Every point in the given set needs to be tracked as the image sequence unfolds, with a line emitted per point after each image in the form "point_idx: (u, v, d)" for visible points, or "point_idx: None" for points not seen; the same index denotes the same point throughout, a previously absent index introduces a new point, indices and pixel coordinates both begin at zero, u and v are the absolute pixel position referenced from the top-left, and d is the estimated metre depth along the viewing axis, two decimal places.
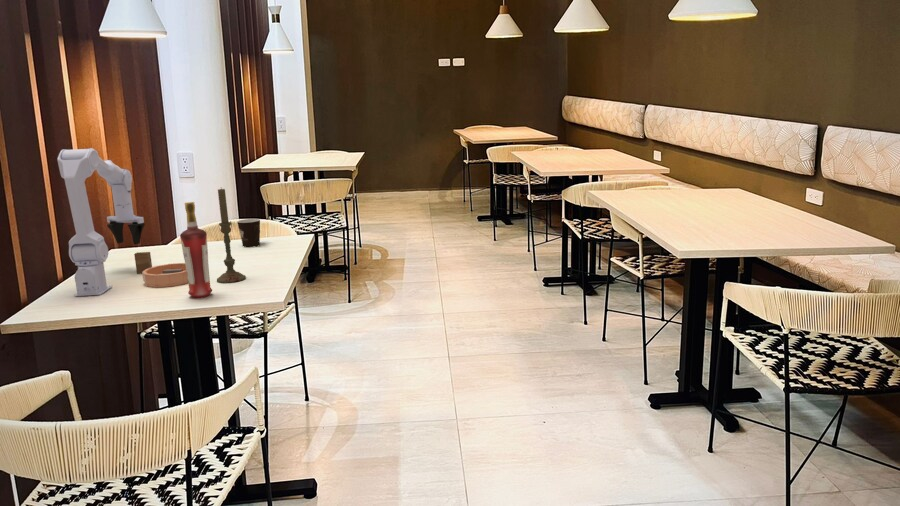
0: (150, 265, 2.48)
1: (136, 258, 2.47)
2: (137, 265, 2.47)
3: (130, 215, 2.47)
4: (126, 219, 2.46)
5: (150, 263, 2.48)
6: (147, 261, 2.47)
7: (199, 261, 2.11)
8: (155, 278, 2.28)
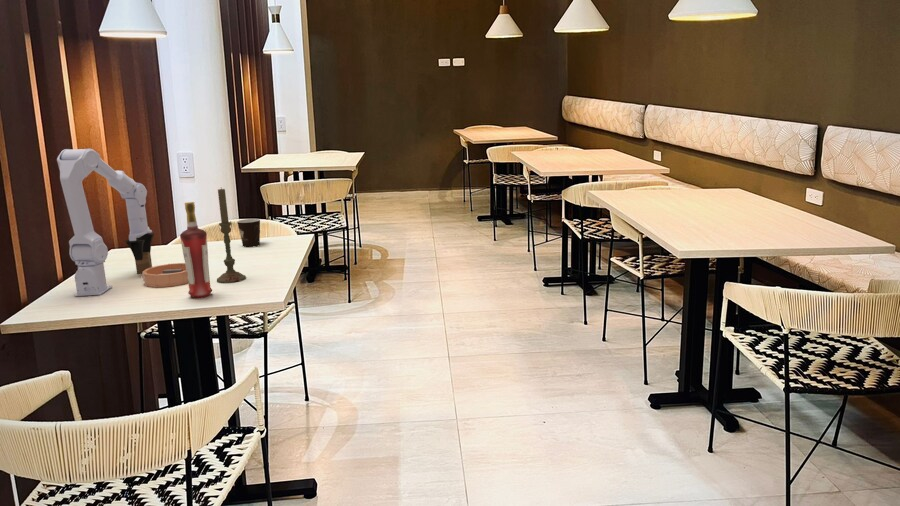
0: (150, 265, 2.48)
1: None
2: (137, 265, 2.47)
3: (135, 230, 2.43)
4: None
5: (150, 263, 2.48)
6: (147, 261, 2.47)
7: (199, 261, 2.11)
8: (155, 278, 2.28)
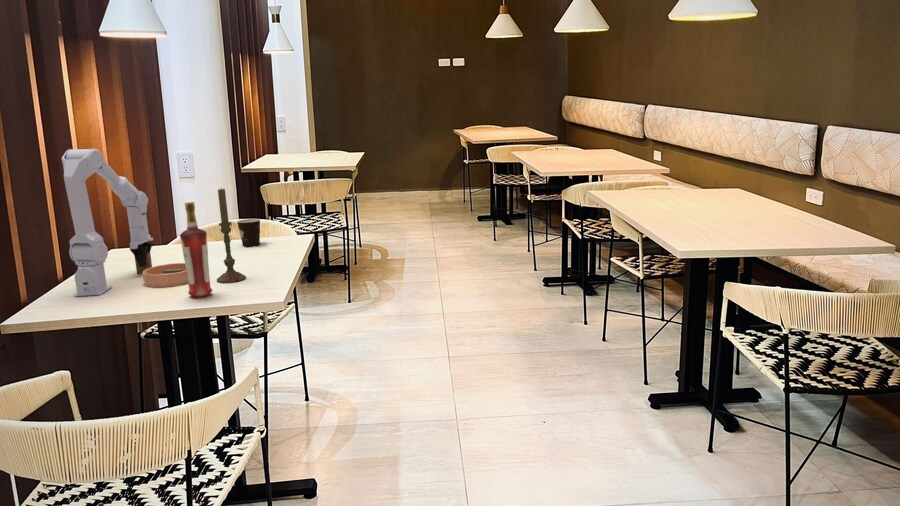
0: (150, 265, 2.48)
1: None
2: (137, 265, 2.47)
3: (136, 238, 2.44)
4: None
5: (150, 263, 2.48)
6: (147, 261, 2.47)
7: (199, 261, 2.11)
8: (155, 278, 2.28)
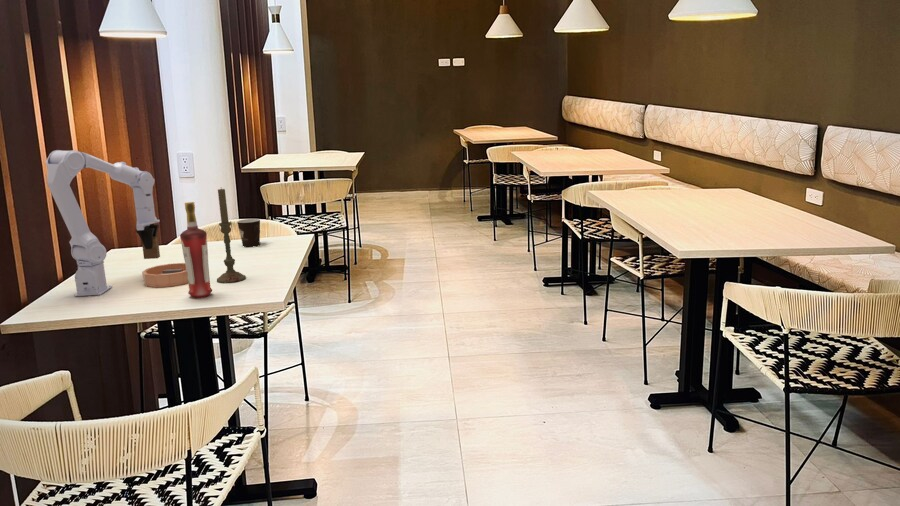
0: (157, 250, 2.42)
1: None
2: (144, 250, 2.41)
3: (142, 220, 2.37)
4: None
5: (157, 248, 2.42)
6: (154, 246, 2.41)
7: (199, 261, 2.11)
8: (155, 278, 2.28)
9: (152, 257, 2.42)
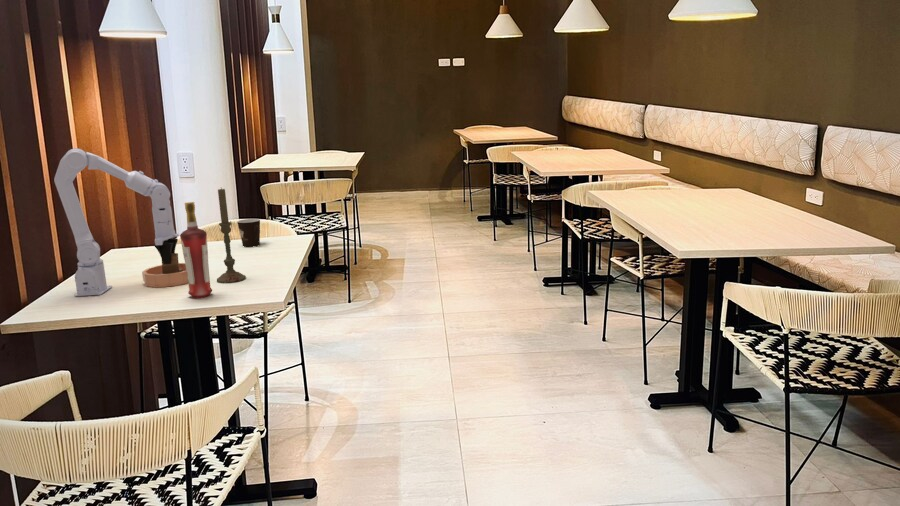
0: (177, 267, 2.35)
1: None
2: (163, 267, 2.34)
3: (161, 234, 2.30)
4: (155, 238, 2.30)
5: (177, 265, 2.35)
6: (174, 263, 2.34)
7: (199, 261, 2.11)
8: (155, 278, 2.28)
9: None
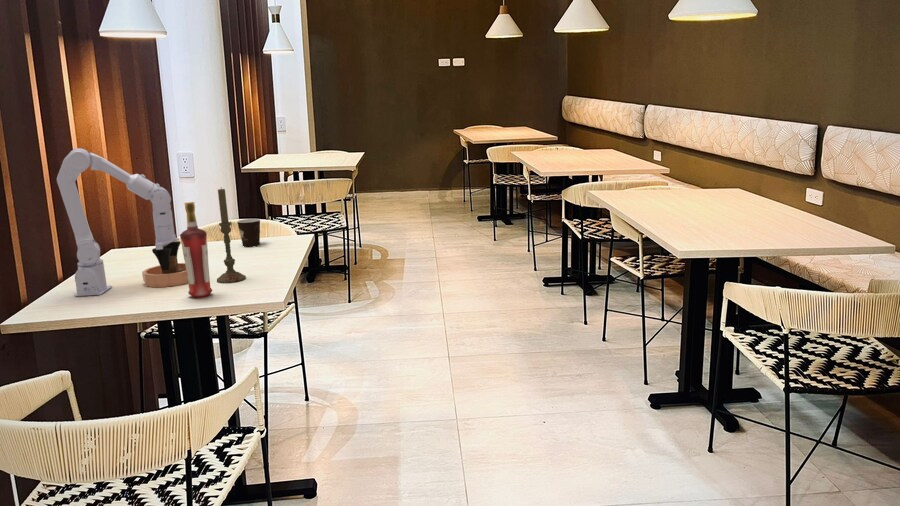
0: (177, 270, 2.35)
1: None
2: (163, 270, 2.34)
3: (162, 238, 2.30)
4: None
5: (177, 268, 2.35)
6: (174, 265, 2.34)
7: (199, 261, 2.11)
8: (155, 278, 2.28)
9: None
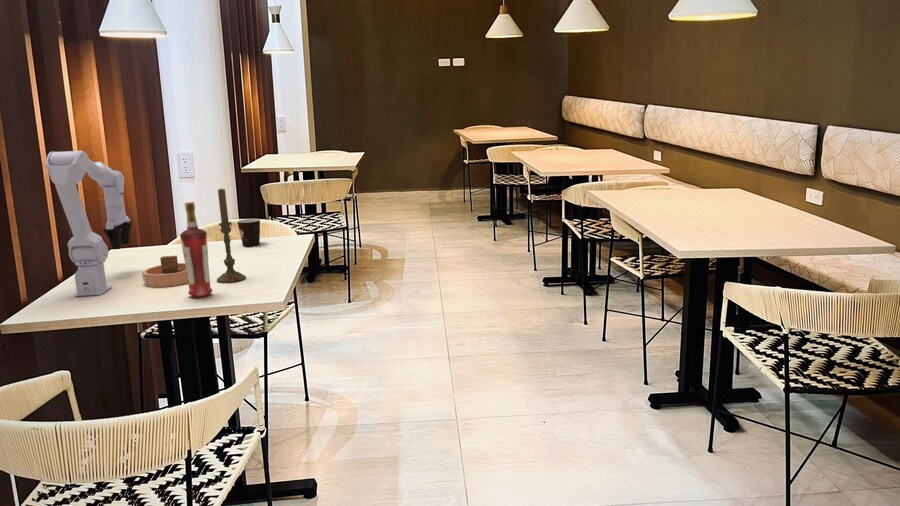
0: (177, 270, 2.35)
1: (162, 262, 2.33)
2: (163, 270, 2.34)
3: (113, 219, 2.40)
4: (107, 222, 2.40)
5: (177, 268, 2.35)
6: (174, 265, 2.34)
7: (199, 261, 2.11)
8: (155, 278, 2.28)
9: None
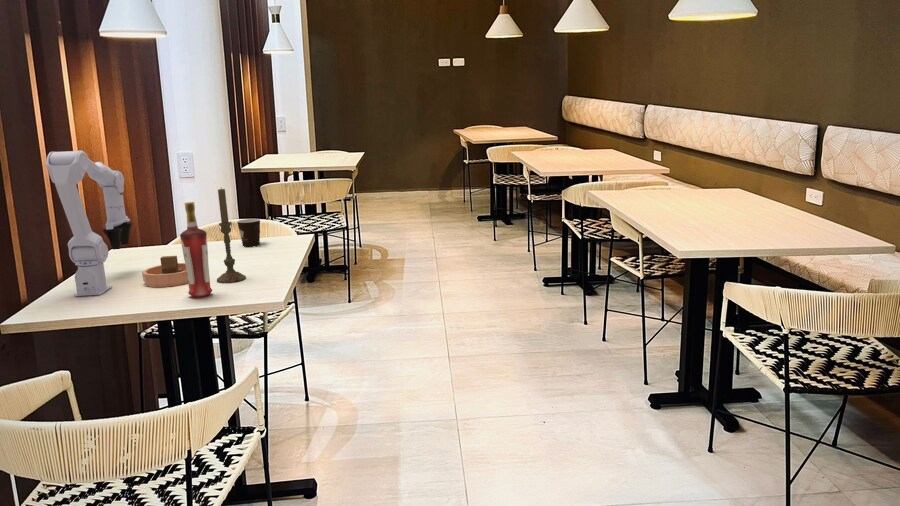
0: (177, 270, 2.35)
1: (162, 262, 2.33)
2: (163, 270, 2.34)
3: (112, 219, 2.40)
4: None
5: (177, 268, 2.35)
6: (174, 265, 2.34)
7: (199, 261, 2.11)
8: (155, 278, 2.28)
9: None
